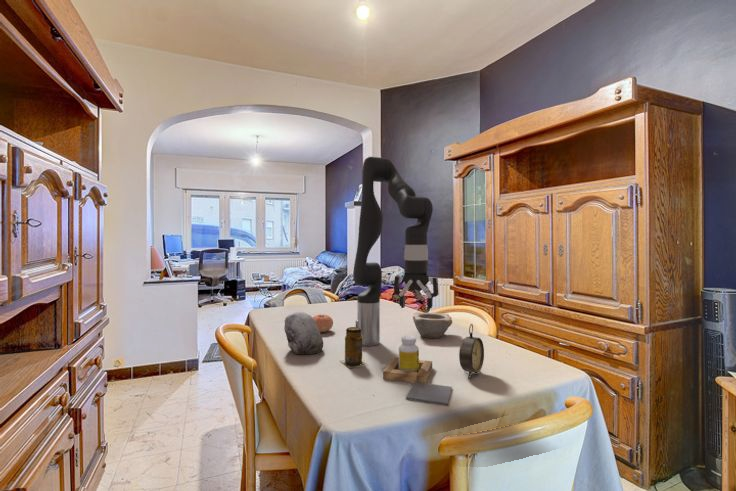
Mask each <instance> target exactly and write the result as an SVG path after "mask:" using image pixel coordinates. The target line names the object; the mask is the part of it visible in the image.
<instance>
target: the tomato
mask: <svg viewBox="0 0 736 491" xmlns="http://www.w3.org/2000/svg"><path fill="white" fill-rule="evenodd" d="M311 317H312V316H311ZM312 318H313V319H314V321H315V323H316V326H317V328H318V331H319V332H320V334H321V333H323V334H324V333H327V332H329V331H330V330H331V329H332V327H333V325H334V320H333V318H332V317H331V316H330V315H327V314H321V313H320V314H317V315H314V316H313V317H312Z"/></svg>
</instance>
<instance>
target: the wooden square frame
mask: <svg viewBox="0 0 736 491" xmlns="http://www.w3.org/2000/svg"><path fill="white" fill-rule="evenodd" d="M432 370H433V361H432V360H425V359H419V372H410V371H402V370H399V356H394V357H393V358H392V360H391V361H390V362H389V363H388V365H387V366H385V368H384V369H383V370H382V379H383V380H388V381H390V380H391V381H397V382H402V383H403V382H404V383H413V384H414V382H420V383H427V381H428V379H429V376H430V374H431V372H432Z"/></svg>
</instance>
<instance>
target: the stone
mask: <svg viewBox="0 0 736 491" xmlns="http://www.w3.org/2000/svg"><path fill="white" fill-rule="evenodd" d="M283 329H284V332H285V336H286V340H287V342H288V343H287V346H288V347H289V348H290V350H291V352H293V354H296V355H315V354H318V353H319V352H321V351H322V350H323V348H324V340H323V337H322V334H321V333H320V332H319V331H318V328H317V326H316V323H315V321H314V319H313V318H312V315H311V314H309V313H307V312H305V311H295V312H292V313H290V314H288V315H287V316H286V317H285V318H284V328H283Z"/></svg>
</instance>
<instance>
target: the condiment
mask: <svg viewBox="0 0 736 491" xmlns="http://www.w3.org/2000/svg"><path fill="white" fill-rule="evenodd" d="M345 332H346V333H345V336H344V359H342V360H341V359H340V362H341V363H342V364H343V365H345V366H346V367H348V369H352V368H353V369H354V368H361V367H366V366H369V364H368V363H367V362H365V361H363V345H362V336H361V329H360V328H358V327H356V326H349V327H347V328H346V330H345Z"/></svg>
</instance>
